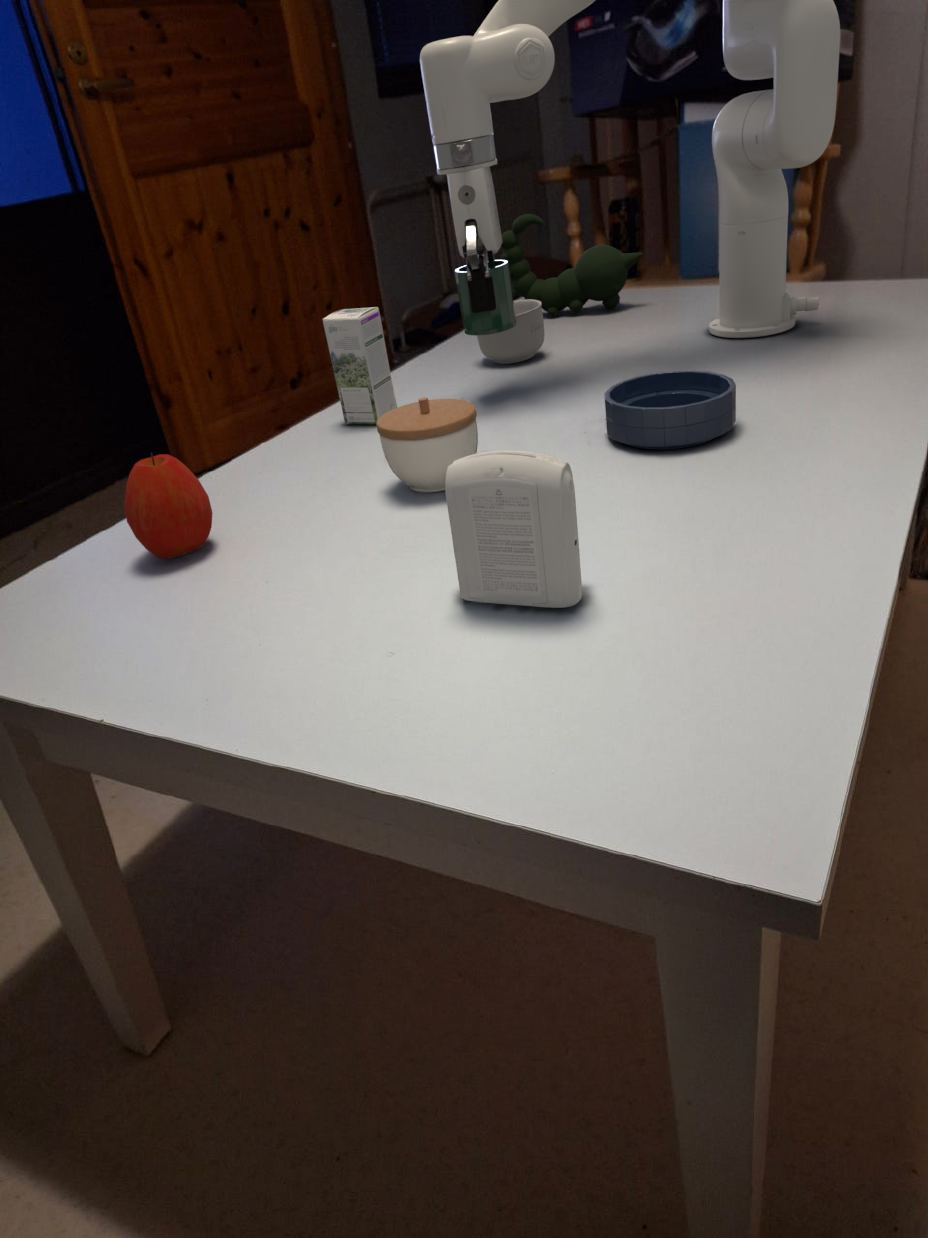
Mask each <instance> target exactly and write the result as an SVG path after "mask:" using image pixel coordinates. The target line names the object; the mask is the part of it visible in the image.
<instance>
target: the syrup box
mask: <svg viewBox="0 0 928 1238" xmlns="http://www.w3.org/2000/svg"><path fill="white" fill-rule="evenodd" d="M322 324H323V329H324V334H325V339H326V342H327V347H328V351H329V356H330V360H331V365H332V371H333V375H334V379H335V383H336V389H337V393H338V397H339V401H340V406H341V411H342V415H343V420H344V421H343V422H344V424H345V425H376V423H377V420H378V419H379V418H380V417H381V416H382V415H383V414H385V413H387V412H388V411H390V410H393V409H395V408H398V403H397V398H396V395H395V389H394V385H393V379H392V374H391V373H392V372H391V367H390V364H389V358H388V353H387V346H386V341H385V334H384V329H383V324H382V319H381V314H380V308H379V307H378V306H373V307H360V308H359V307H358V308H357V307H356V308H343V309H339V310H336V311H334V312H332V313H330V314H328V315H327V316H325V317H323V318H322Z"/></svg>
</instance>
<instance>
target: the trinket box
mask: <svg viewBox="0 0 928 1238" xmlns="http://www.w3.org/2000/svg"><path fill="white" fill-rule="evenodd" d="M375 425H376V430H377V433H378V435H379V440H380V445H381V448H382V452H383V455H384V458H385V460H386V462H387V464H388V466H389V468H390V470H391V472H392V473H393V474H394V475H395V476H396V477H397V478H398V480H400V481H402V482H403V483H404V484H406V485H407V486H409V489H411V491H413V492H418V493H428V494H429V493H438V492H445V480H446V472H447V468H448V466H449V465H451V464H453V462H454V461H455V460H458V459H460V458H463V457H466V456H469V455H473V454H477V453H478V446H479V441H478V440H479V432H478V424H477V408H476V406H475V405H474V403H472V402H471V401H468V400H465V399H457V398H438V399H437V398H436V399H429V397H425V396H424V397H420V398H418V401H415V402H411V403H408V404H404V405H400V406H397V408H395V409H393V410H390V411H388V412H387V413H385V414H383V415H382V416H381V417H380V418H379V419H378V420H377V423H376V424H375Z"/></svg>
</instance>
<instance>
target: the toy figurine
mask: <svg viewBox="0 0 928 1238" xmlns="http://www.w3.org/2000/svg"><path fill="white" fill-rule="evenodd" d="M533 225H538V226H540V227H544V226H545V222H544V220H543V219H542V217H540V216H538V215H537V214H534V213H525V214H521V215H519V216H518V217H516V219H514V220H513V222H512V226H511V230H510V229H509V230H506V231H503V232H502V233H501V235H502V244H501V248H502V249H503V251H502V253H501V255H500V260H506V261H508V263H509V270H510V278H511V281H512V282H511V286H512V293H513V298H516V297H517V296H519V297H521V298H524V300H525V299H533V300H538V301H541V303H542V307H541V308H542V311H544V312H546V314H547V316H548V317H549V318H555V317H557V316H558V314H559V313H560V312H562V311H564V310H565V309H566V308H568V310H569V311H570V312H572V313H573V314H579V312H581V311H582V310H583V308H584V305H586V303H588V301H589V300H590V301H595V302H601V304H602V306H603V308H605V309H606V310H607V311H609V310H614V309H616V308H617V307H618V306H619V304H620V302H621V297H620V294H619V293H620V292H621V291H622V290H623V288H624V287H625V285H626V282H627V281H628V273H629V270H630V269H631V268H632V267H633V266H634V265H635V264H636V263H638V261H640V260H641V259H642V258H643V257H644V253H643V252H628V253H625V252H621V251H620V250H619V249H617V248H616V247H613V246H612V245H608V244H597V245H594V246H591V247H590V248H588V249H586V250H585V251H584V252H583V253H582V254H581V255H580V256H579V258H578V259H577V261H576V263H575V266H574V267H570V268H567V269H565V270H564V271H562V272H561V273H560V274H559V275H558V277H550V278H546V279H545V280H544V279H542V278H538V277H537V275H536V274H535V273H534V272H532V270H531V265H530V263H529V261H528V260H527V259H526V258H525V249H524V247H523V246H522V245H521V244H520V237H519V235H521V234H523V233H524V232H525V231H526V230H527V229H528V227H530V226H533Z"/></svg>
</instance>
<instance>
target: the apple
mask: <svg viewBox="0 0 928 1238" xmlns="http://www.w3.org/2000/svg"><path fill="white" fill-rule="evenodd" d="M210 501H211V500H210V497H209V495H208V493H207V491H206V489H205V488H204V486H203V484H202V483H201V481H200V479H198V477H197V476H196V475H195V474H194V473H193V472H192V470H191V469H190V468H189V467H187V466H186V464H184V463H183V462H182V461H181V460H179V459H178V458H176V457H174V456H173V455H171V454H167V453H166V454H157V455H154V454H153V452H150V457H147V458H143V459H140V460H139V461H137V462H135V464H134V465H133V467H132V469H131V471H130V472H129V473H128V478H127V482H126V486H125V497H124V505H123V508H124V513H125V518H126V523H127V524H128V526H129V528H130V530H131V531H132V533H133V535H134V537H135V538H136V540H137V541H138V542H139V543H140V544H141V546H143V547H144V549H145V550H146V551H147V552H148V553H150V554H152V555H153V556H154V557H155V558H158V559H163V560H164V559H165V560H167V559H173V558H177V557H181V556H185V555H188V554H190V553H192V552H195V551H197V550H199V549H200V548H201V547H203V546H204V545H205V544H206V542H207V540H208V538H209V536H210V534H211V530H212V528H213V527H212V526H213V509H212V505H211V502H210Z"/></svg>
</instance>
